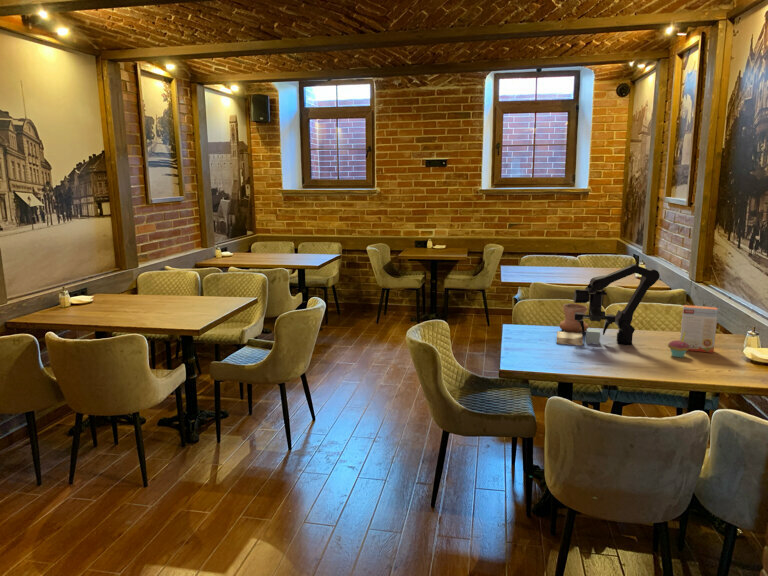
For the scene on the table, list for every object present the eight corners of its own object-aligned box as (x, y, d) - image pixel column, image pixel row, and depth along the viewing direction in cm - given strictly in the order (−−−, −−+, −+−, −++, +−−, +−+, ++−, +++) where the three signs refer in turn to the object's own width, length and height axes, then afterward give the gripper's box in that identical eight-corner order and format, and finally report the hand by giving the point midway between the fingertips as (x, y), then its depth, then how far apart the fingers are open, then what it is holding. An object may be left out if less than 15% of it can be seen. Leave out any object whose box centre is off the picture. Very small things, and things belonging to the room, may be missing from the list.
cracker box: (712, 350, 263) (717, 306, 259) (713, 353, 258) (718, 309, 254) (678, 346, 269) (683, 304, 265) (679, 349, 264) (684, 306, 260)
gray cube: (598, 341, 278) (599, 329, 277) (599, 344, 272) (600, 332, 271) (585, 340, 280) (586, 328, 279) (586, 343, 274) (587, 331, 273)
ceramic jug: (593, 335, 287) (595, 308, 285) (566, 336, 286) (568, 308, 284) (579, 327, 305) (581, 302, 302) (553, 327, 304) (555, 302, 302)
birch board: (581, 338, 281) (582, 333, 281) (582, 345, 270) (582, 339, 270) (556, 336, 285) (557, 331, 284) (556, 343, 274) (556, 337, 273)
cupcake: (686, 354, 257) (689, 329, 255) (689, 359, 249) (692, 333, 247) (665, 352, 260) (668, 327, 257) (668, 357, 252) (671, 331, 249)
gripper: (575, 305, 268) (573, 336, 271) (617, 308, 262) (615, 340, 265) (575, 300, 278) (573, 331, 281) (615, 303, 273) (613, 334, 275)
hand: (593, 334), depth 275 cm, fingers open, 9 cm apart
